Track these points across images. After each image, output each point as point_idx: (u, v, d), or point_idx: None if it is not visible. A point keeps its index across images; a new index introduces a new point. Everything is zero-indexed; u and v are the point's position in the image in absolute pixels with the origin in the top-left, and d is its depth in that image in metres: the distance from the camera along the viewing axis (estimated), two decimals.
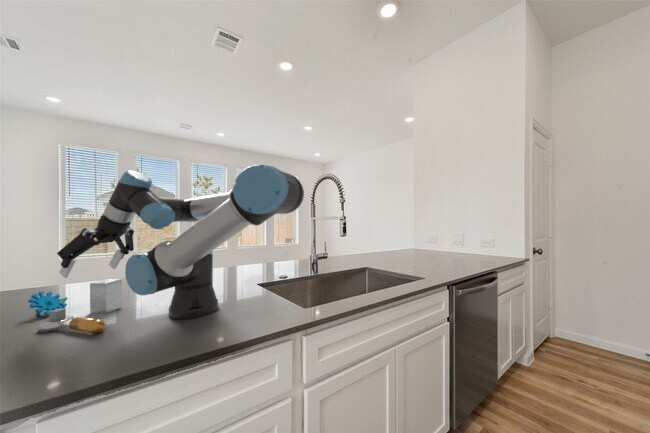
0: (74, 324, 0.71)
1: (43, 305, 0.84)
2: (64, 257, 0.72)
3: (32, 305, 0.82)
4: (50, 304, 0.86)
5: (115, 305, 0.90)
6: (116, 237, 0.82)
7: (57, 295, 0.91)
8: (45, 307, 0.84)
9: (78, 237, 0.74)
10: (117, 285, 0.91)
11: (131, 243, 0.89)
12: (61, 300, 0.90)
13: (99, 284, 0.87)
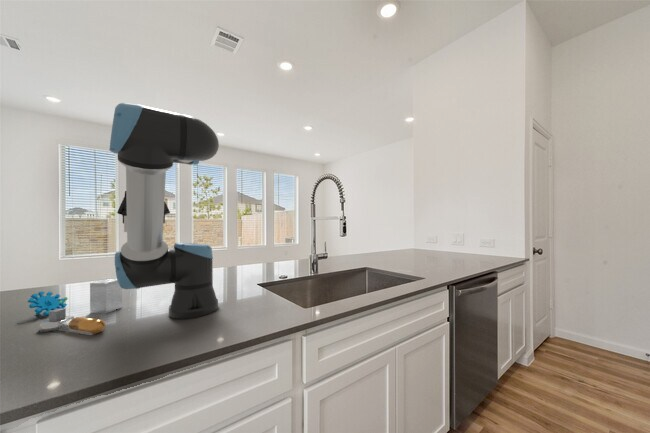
0: (74, 324, 0.71)
1: (43, 305, 0.84)
2: (118, 211, 1.01)
3: (32, 305, 0.82)
4: (50, 304, 0.86)
5: (115, 305, 0.90)
6: None
7: (57, 295, 0.91)
8: (45, 307, 0.84)
9: None
10: (117, 285, 0.91)
11: None
12: (61, 300, 0.90)
13: (99, 284, 0.87)
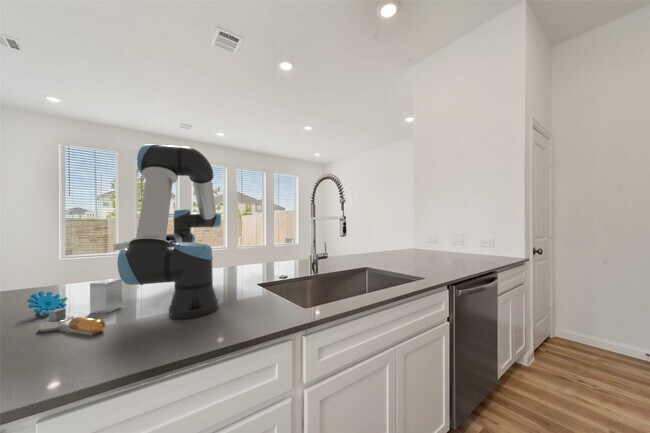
0: (74, 324, 0.71)
1: (42, 305, 0.85)
2: None
3: (31, 305, 0.82)
4: (49, 304, 0.86)
5: (115, 305, 0.90)
6: None
7: (57, 295, 0.91)
8: (44, 307, 0.84)
9: None
10: (117, 285, 0.91)
11: (169, 241, 1.09)
12: (61, 300, 0.90)
13: (99, 284, 0.87)
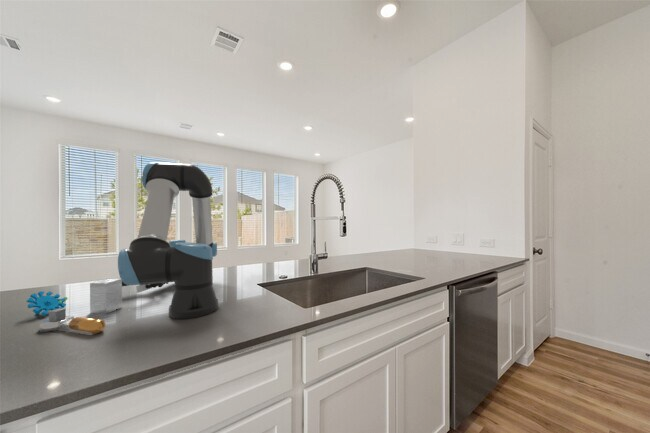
0: (74, 324, 0.71)
1: (41, 305, 0.85)
2: None
3: (30, 305, 0.82)
4: (49, 304, 0.86)
5: (115, 305, 0.90)
6: None
7: (57, 295, 0.91)
8: (43, 307, 0.85)
9: None
10: (117, 285, 0.91)
11: None
12: (60, 300, 0.90)
13: (99, 284, 0.87)
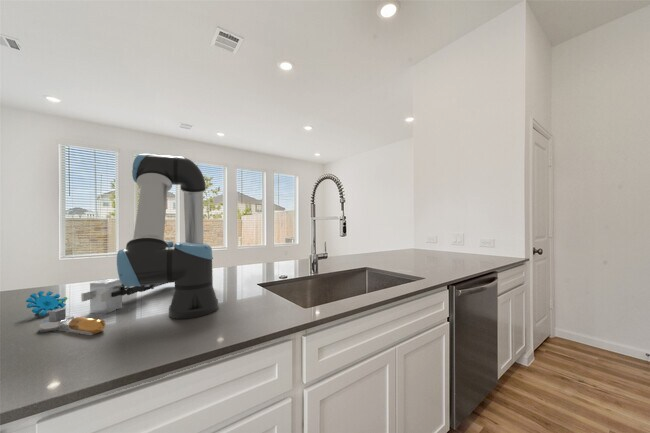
0: (74, 324, 0.71)
1: (40, 305, 0.85)
2: None
3: (29, 305, 0.82)
4: (48, 304, 0.86)
5: (115, 305, 0.90)
6: None
7: (57, 295, 0.91)
8: (42, 307, 0.85)
9: None
10: (117, 285, 0.91)
11: None
12: (60, 300, 0.90)
13: (99, 284, 0.87)
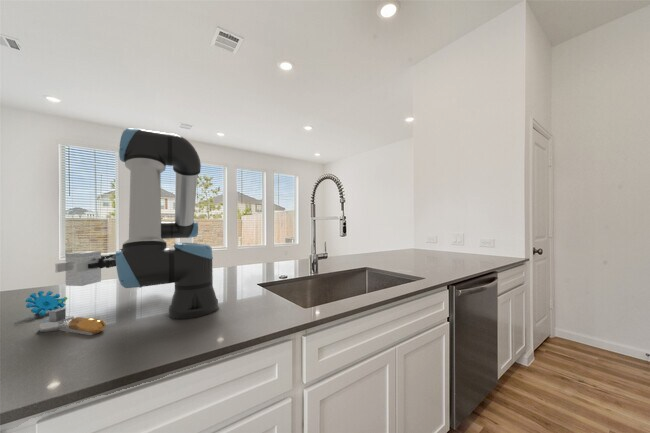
0: (74, 324, 0.71)
1: (40, 305, 0.85)
2: None
3: (28, 305, 0.82)
4: (47, 304, 0.86)
5: (93, 278, 0.84)
6: None
7: (57, 295, 0.91)
8: (41, 307, 0.85)
9: None
10: (96, 257, 0.85)
11: None
12: (60, 300, 0.90)
13: (75, 254, 0.81)
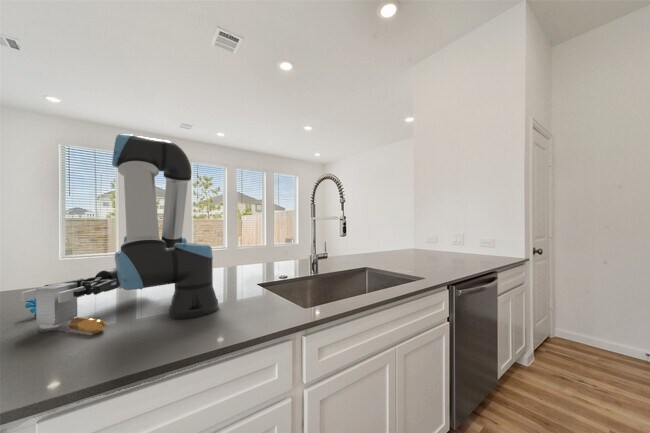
0: (74, 324, 0.71)
1: None
2: (47, 285, 0.81)
3: (27, 305, 0.82)
4: None
5: (68, 314, 0.76)
6: (98, 277, 0.87)
7: None
8: None
9: None
10: None
11: (102, 283, 0.82)
12: None
13: (47, 289, 0.73)
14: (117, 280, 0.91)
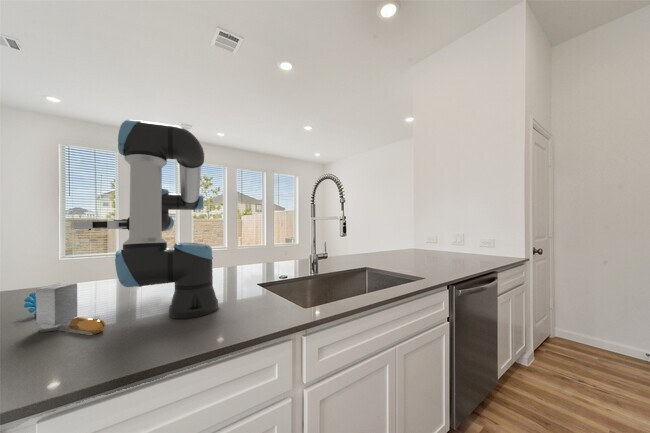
0: (74, 324, 0.71)
1: None
2: None
3: (26, 304, 0.83)
4: None
5: (68, 314, 0.76)
6: None
7: None
8: None
9: None
10: (71, 291, 0.77)
11: None
12: None
13: (47, 289, 0.73)
14: None
